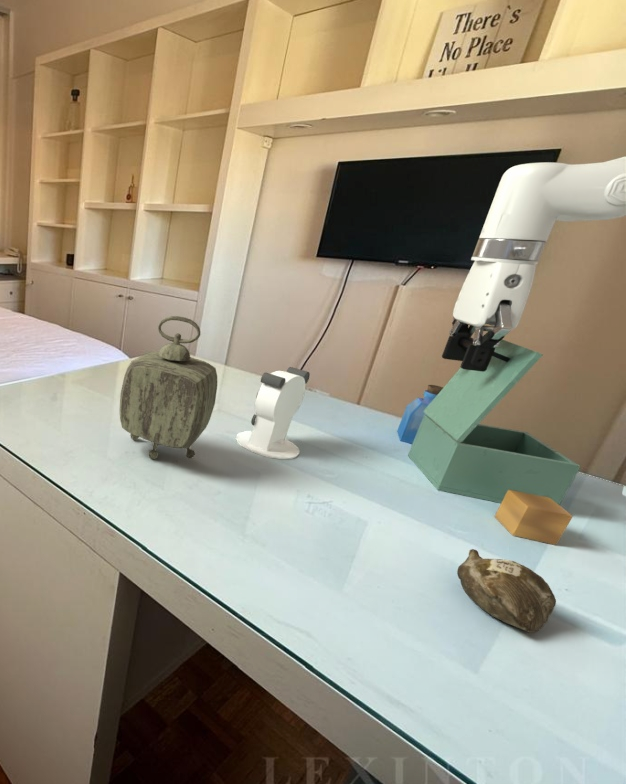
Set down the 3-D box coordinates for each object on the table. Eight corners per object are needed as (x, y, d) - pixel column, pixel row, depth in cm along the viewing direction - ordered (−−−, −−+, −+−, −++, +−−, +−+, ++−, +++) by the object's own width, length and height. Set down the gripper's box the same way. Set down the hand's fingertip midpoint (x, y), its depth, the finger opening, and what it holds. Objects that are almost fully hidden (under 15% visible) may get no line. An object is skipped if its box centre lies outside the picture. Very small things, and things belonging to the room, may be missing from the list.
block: (534, 525, 69) (549, 497, 67) (556, 545, 65) (573, 516, 63) (494, 516, 70) (508, 489, 69) (512, 535, 66) (528, 506, 64)
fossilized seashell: (453, 546, 58) (437, 593, 53) (508, 526, 54) (497, 576, 48) (508, 597, 56) (498, 652, 50) (571, 581, 51) (568, 641, 45)
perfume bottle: (432, 439, 98) (453, 387, 94) (437, 449, 93) (460, 395, 89) (397, 431, 101) (416, 380, 97) (400, 440, 96) (421, 387, 92)
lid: (493, 336, 79) (458, 322, 80) (543, 354, 67) (501, 337, 68) (427, 413, 86) (396, 399, 87) (461, 442, 74) (424, 426, 75)
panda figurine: (256, 427, 97) (274, 360, 92) (311, 449, 88) (334, 377, 83) (224, 439, 90) (241, 367, 85) (280, 464, 82) (303, 386, 76)
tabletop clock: (202, 457, 82) (233, 321, 73) (188, 478, 75) (220, 329, 66) (128, 434, 89) (148, 307, 80) (108, 450, 82) (127, 313, 73)
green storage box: (506, 474, 84) (527, 432, 81) (554, 514, 72) (581, 466, 69) (407, 455, 89) (424, 414, 86) (437, 490, 77) (457, 443, 74)
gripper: (577, 257, 61) (520, 383, 67) (505, 252, 76) (464, 355, 83) (507, 252, 63) (459, 375, 70) (451, 249, 79) (415, 350, 85)
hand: (462, 363), depth 76 cm, fingers closed on lid, 6 cm apart
